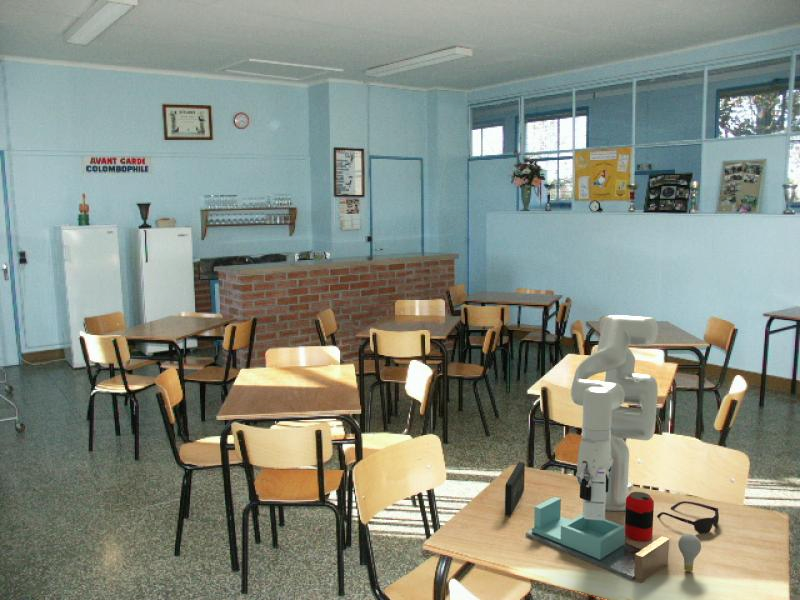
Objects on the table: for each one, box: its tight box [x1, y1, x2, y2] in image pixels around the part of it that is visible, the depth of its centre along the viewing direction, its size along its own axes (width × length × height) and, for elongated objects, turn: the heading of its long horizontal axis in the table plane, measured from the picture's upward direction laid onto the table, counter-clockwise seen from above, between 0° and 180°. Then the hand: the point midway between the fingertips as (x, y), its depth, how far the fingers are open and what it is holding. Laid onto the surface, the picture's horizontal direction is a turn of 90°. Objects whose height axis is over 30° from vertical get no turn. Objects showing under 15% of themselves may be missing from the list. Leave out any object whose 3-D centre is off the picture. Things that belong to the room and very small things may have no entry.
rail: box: [525, 529, 670, 584], centre depth 199 cm, size 15×36×7 cm, turn 43°
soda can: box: [624, 491, 655, 542], centre depth 206 cm, size 8×8×12 cm
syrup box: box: [582, 467, 606, 521], centre depth 197 cm, size 6×6×14 cm
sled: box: [531, 496, 626, 560], centre depth 203 cm, size 12×22×7 cm, turn 43°
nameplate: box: [504, 461, 526, 516], centre depth 229 cm, size 21×2×10 cm, turn 159°
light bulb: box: [678, 533, 702, 573], centre depth 186 cm, size 6×5×10 cm
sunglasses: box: [656, 500, 720, 535], centre depth 215 cm, size 14×16×5 cm
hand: (594, 494), depth 197 cm, fingers closed on syrup box, 7 cm apart
